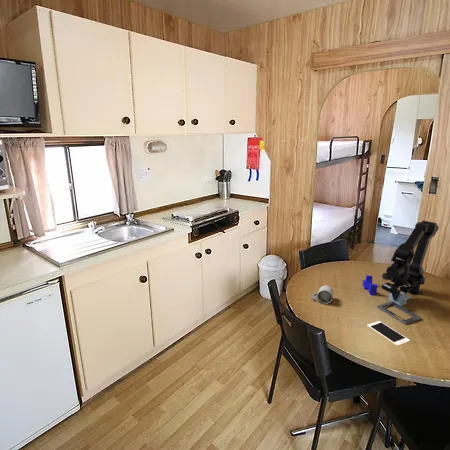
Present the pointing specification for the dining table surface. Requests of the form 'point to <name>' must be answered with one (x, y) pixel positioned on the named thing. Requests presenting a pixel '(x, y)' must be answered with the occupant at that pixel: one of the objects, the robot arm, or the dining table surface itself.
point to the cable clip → (370, 285)
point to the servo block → (400, 298)
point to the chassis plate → (407, 321)
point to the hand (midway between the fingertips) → (397, 299)
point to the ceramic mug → (324, 294)
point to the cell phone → (388, 333)
